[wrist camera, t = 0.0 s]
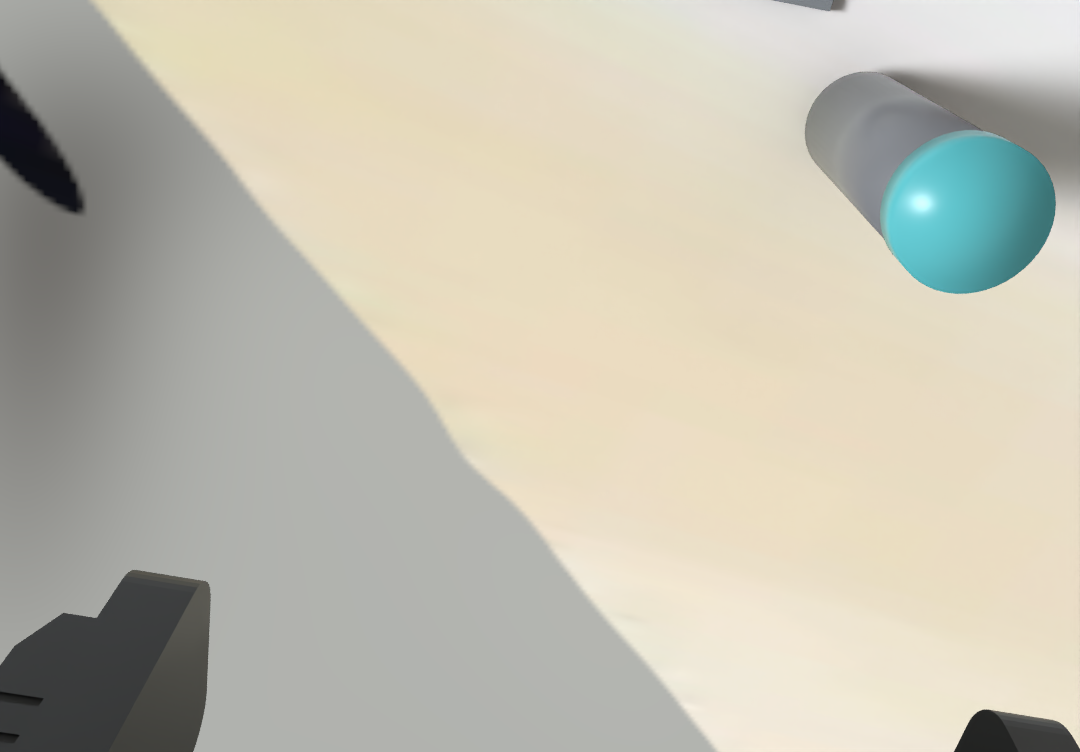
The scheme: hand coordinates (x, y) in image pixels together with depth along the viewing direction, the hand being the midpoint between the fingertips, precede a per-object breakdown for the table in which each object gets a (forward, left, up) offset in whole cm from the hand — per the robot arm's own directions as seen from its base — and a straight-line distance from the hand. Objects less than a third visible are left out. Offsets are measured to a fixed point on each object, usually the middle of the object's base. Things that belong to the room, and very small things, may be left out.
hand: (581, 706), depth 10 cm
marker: (-2, +10, -29) cm, 31 cm away
